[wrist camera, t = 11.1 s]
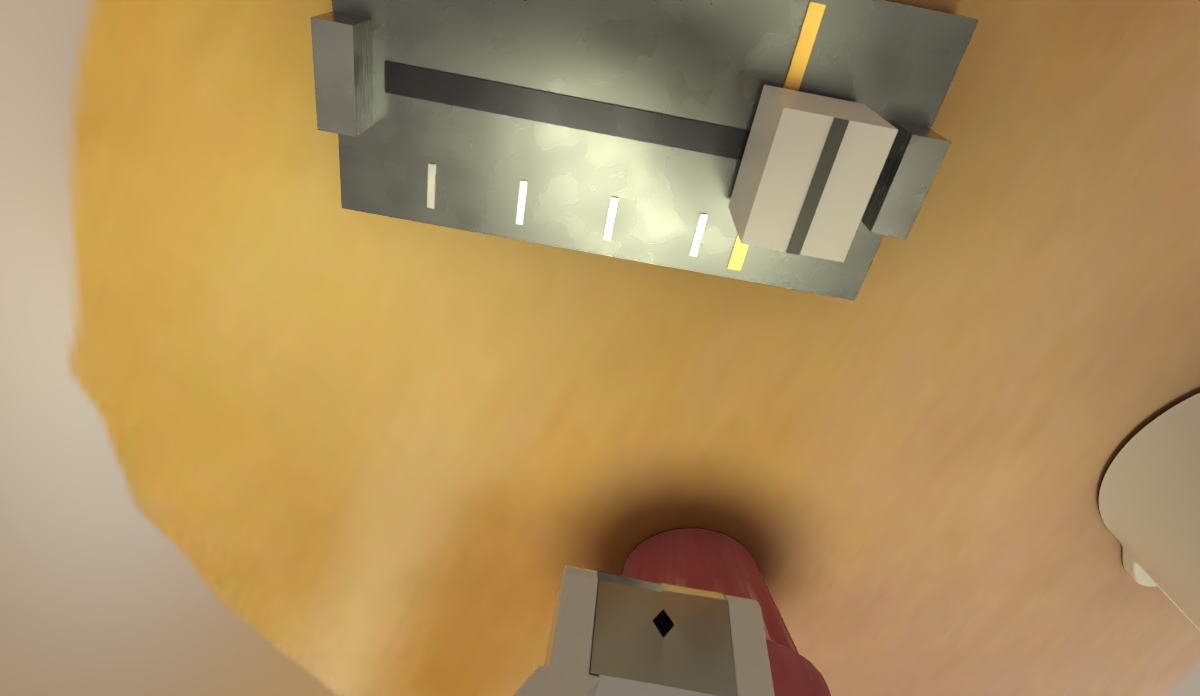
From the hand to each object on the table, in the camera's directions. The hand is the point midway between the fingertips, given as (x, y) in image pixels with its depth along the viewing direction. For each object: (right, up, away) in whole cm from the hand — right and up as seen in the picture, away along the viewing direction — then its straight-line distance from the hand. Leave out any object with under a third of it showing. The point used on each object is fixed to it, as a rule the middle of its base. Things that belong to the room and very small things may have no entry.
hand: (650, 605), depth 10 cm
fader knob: (+7, +12, +17) cm, 21 cm away
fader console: (+1, +14, +18) cm, 23 cm away
